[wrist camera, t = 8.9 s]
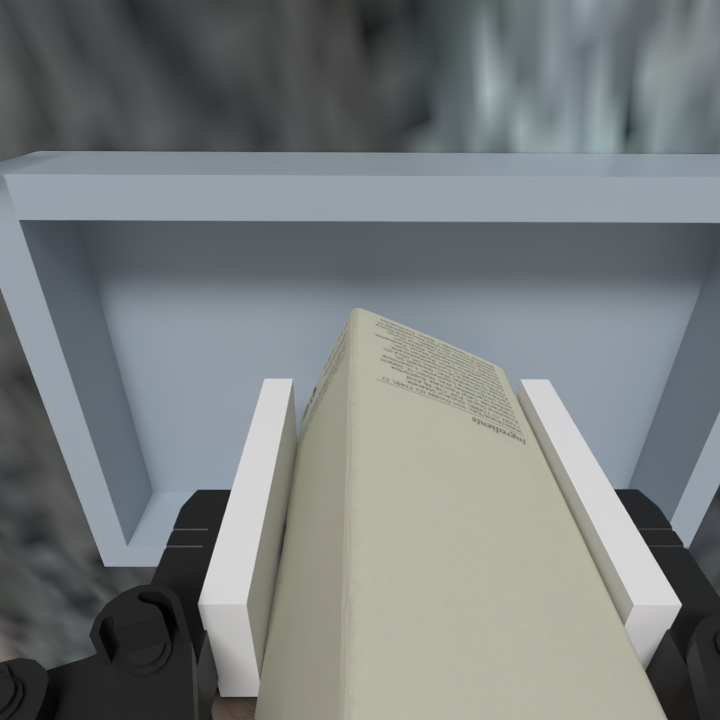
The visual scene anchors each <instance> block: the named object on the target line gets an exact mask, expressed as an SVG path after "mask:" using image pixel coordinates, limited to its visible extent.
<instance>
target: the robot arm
mask: <svg viewBox="0 0 720 720" xmlns="http://www.w3.org/2000/svg"><path fill="white" fill-rule="evenodd" d="M517 399H518V401H519V403H520V406H521V408H522V410H523V412H524V414H525V416H526V418H527V420H528V423H529V425H530V427H531V429H532V431H533V433H534V435H535V437H536V440H537V442H538V444H539V446H540V448H541V450H542V453H543V455H544V457H545V459H546V461H547V463H548V465H549V467H550V470H551V472H552V474H553V476H554V478H555V480H556V482H557V484H558V487H559V489H560V491H561V493H562V495H563V497H564V499H565V501H566V503H567V506H568V508H569V510H570V512H571V514H572V516H573V518H574V520H575V522H576V525H577V527H578V529H579V531H580V533H581V535H582V537H583V539H584V542H585V544H586V546H587V548H588V550H589V552H590V555H591V557H592V559H593V561H594V563H595V566H596V568H597V570H598V572H599V574H600V576H601V578H602V580H603V582H604V585H605V587H606V589H607V591H608V593H609V595H610V597H611V599H612V601H613V604H614V606H615V608H616V610H617V612H618V614H619V616H620V619H621V621H622V623H623V625H624V627H625V629H626V632H627V634H628V636H629V638H630V640H631V642H632V644H633V646H634V649H635V651H636V653H637V655H638V657H639V659H640V661H641V664H642V666H643V668H644V670H645V672H646V674H647V676H648V679H649V681H650V683H651V685H652V687H653V689H654V691H655V694H656V696H657V698H658V700H659V702H660V704H661V707H662V709H663V711H664V713H665V715H666V717H667V719H668V720H720V597H719V596H718V594H717V593H716V591H715V590H714V588H713V587H712V585H711V584H710V582H709V581H708V579H707V578H706V576H705V575H704V573H703V572H702V571H701V569H700V568H699V566H698V565H697V563H696V562H695V560H694V559H693V557H692V556H691V554H690V553H689V551H688V550H687V548H684V544H683V542H682V541H681V539H680V538H679V536H678V535H677V533H676V532H675V531H673V530H672V526H671V524H670V523H669V521H668V520H667V518H666V517H665V515H664V514H663V512H662V511H661V509H660V508H659V507H658V506H657V505H656V504H655V503H654V502H652V501H651V500H650V499H649V498H648V497H646V496H645V495H644V494H643V493H642V492H640V491H639V490H638V489H613V488H612V486H611V484H610V482H609V481H608V479H607V477H606V476H605V474H604V472H603V471H602V469H601V467H600V466H599V464H598V462H597V461H596V459H595V457H594V455H593V454H592V452H591V450H590V449H589V447H588V445H587V444H586V442H585V440H584V439H583V437H582V435H581V434H580V432H579V430H578V428H577V427H576V425H575V423H574V422H573V420H572V418H571V417H570V415H569V413H568V412H567V410H566V408H565V407H564V405H563V403H562V402H561V400H560V398H559V396H558V395H557V393H556V391H555V390H554V388H553V386H552V385H551V383H550V381H549V380H548V379H520V383H519V388H518V393H517ZM297 445H298V441H297V427H296V414H295V400H294V386H293V379H264V382H263V386H262V389H261V392H260V396H259V399H258V403H257V406H256V409H255V413H254V416H253V419H252V423H251V426H250V430H249V433H248V436H247V440H246V443H245V446H244V450H243V453H242V457H241V460H240V463H239V467H238V470H237V473H236V477H235V480H234V484H233V487H232V490H197V491H196V492H195V493H194V494H193V495H192V496H191V497H190V498H189V499H188V500H187V501H186V503H185V504H184V505H183V506H182V507H181V509H180V512H179V514H178V517H177V519H176V522H175V524H174V527H173V532H171V534H170V537H169V539H168V542H167V544H166V545H167V546H166V549H164V552H163V554H162V557H161V559H160V562H159V564H158V567H157V569H156V572H155V574H154V577H153V579H152V582H151V585H140V586H137V587H135V588H132V589H130V590H127V591H125V592H122V593H121V594H120V595H118V596H117V597H116V598H114V599H113V600H112V601H110V602H109V603H108V604H106V606H105V607H104V608H103V610H102V611H101V612H100V613H99V615H98V616H97V617H96V619H95V621H94V624H93V626H92V629H91V632H90V635H89V636H90V638H91V640H92V642H93V645H94V647H95V649H96V651H97V654H95V655H93V656H90V657H88V658H85V659H82V660H79V661H75V662H72V663H69V664H66V665H63V666H60V667H56V668H53V669H50V670H47V671H46V670H45V668H44V667H43V666H41V665H40V664H39V663H38V662H37V661H35V660H31V659H24V658H17V659H13V660H9V661H4V662H1V663H0V720H213V717H212V714H211V709H212V705H213V700H214V696H215V691H216V687H217V683H218V687H219V691H220V695H221V697H258V691H259V685H260V678H261V672H262V666H263V659H264V653H265V647H266V640H267V634H268V627H269V621H270V614H271V608H272V601H273V595H274V589H275V583H276V577H277V572H278V567H279V562H280V555H281V545H282V540H283V535H284V528H285V522H286V516H287V509H288V501H289V495H290V489H291V482H292V475H293V469H294V463H295V457H296V451H297Z"/></svg>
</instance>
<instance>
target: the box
mask: <svg viewBox="0 0 720 720" xmlns="http://www.w3.org/2000/svg"><path fill="white" fill-rule="evenodd" d="M254 720H668V719H667V717H666V715H665V713H664V711H663V709H662V707H661V704H660V702H659V700H658V698H657V696H656V694H655V691H654V689H653V687H652V685H651V683H650V681H649V679H648V676H647V674H646V672H645V670H644V668H643V666H642V664H641V661H640V659H639V657H638V655H637V653H636V651H635V649H634V646H633V644H632V642H631V640H630V638H629V636H628V634H627V632H626V629H625V627H624V625H623V623H622V621H621V619H620V616H619V614H618V612H617V610H616V608H615V606H614V604H613V601H612V599H611V597H610V595H609V593H608V591H607V589H606V587H605V585H604V582H603V580H602V578H601V576H600V574H599V572H598V570H597V568H596V566H595V563H594V561H593V559H592V557H591V555H590V552H589V550H588V548H587V546H586V544H585V542H584V539H583V537H582V535H581V533H580V531H579V529H578V527H577V525H576V522H575V520H574V518H573V516H572V514H571V512H570V510H569V508H568V506H567V503H566V501H565V499H564V497H563V495H562V493H561V491H560V489H559V487H558V484H557V482H556V480H555V478H554V476H553V474H552V472H551V470H550V467H549V465H548V463H547V461H546V459H545V457H544V455H543V453H542V450H541V448H540V446H539V444H538V442H537V440H536V437H535V435H534V433H533V431H532V429H531V427H530V425H529V423H528V420H527V418H526V416H525V414H524V412H523V410H522V408H521V406H520V403H519V401H518V399H517V397H516V395H515V392H514V390H513V388H512V386H511V384H510V382H509V380H508V377H507V375H506V373H505V372H504V370H503V369H502V368H500V367H499V366H497V365H495V364H493V363H490V362H488V361H486V360H484V359H482V358H480V357H477V356H475V355H473V354H471V353H469V352H466V351H464V350H461V349H459V348H457V347H455V346H452V345H450V344H448V343H446V342H443V341H441V340H439V339H436V338H434V337H431V336H429V335H427V334H424V333H422V332H419V331H417V330H414V329H412V328H410V327H407V326H405V325H402V324H400V323H398V322H395V321H393V320H390V319H387V318H385V317H382V316H380V315H377V314H375V313H372V312H370V311H367V310H364V309H362V308H355V309H353V310H352V312H351V313H350V315H349V317H348V319H347V321H346V323H345V325H344V327H343V329H342V331H341V333H340V335H339V337H338V339H337V341H336V343H335V345H334V347H333V349H332V351H331V353H330V355H329V357H328V359H327V361H326V363H325V365H324V368H323V370H322V372H321V374H320V376H319V378H318V380H317V382H316V385H315V387H314V389H313V391H312V393H311V395H310V398H309V400H308V403H307V405H306V407H305V409H304V412H303V415H302V418H301V424H300V432H299V438H298V445H297V451H296V457H295V463H294V469H293V475H292V482H291V489H290V495H289V501H288V509H287V516H286V522H285V528H284V535H283V540H282V545H281V555H280V562H279V567H278V572H277V577H276V583H275V589H274V595H273V601H272V608H271V614H270V621H269V627H268V634H267V640H266V647H265V653H264V659H263V666H262V672H261V678H260V685H259V691H258V698H257V704H256V710H255V717H254Z"/></svg>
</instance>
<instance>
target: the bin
mask: <svg viewBox="0 0 720 720" xmlns="http://www.w3.org/2000/svg"><path fill="white" fill-rule="evenodd" d="M0 288H1V291H2V294H3V296H4V299H5V302H6V304H7V307H8V310H9V312H10V315H11V318H12V320H13V323H14V326H15V328H16V331H17V334H18V336H19V339H20V342H21V344H22V347H23V350H24V352H25V355H26V358H27V360H28V363H29V366H30V368H31V371H32V374H33V376H34V379H35V382H36V384H37V387H38V390H39V392H40V395H41V398H42V400H43V403H44V406H45V408H46V411H47V414H48V416H49V419H50V422H51V424H52V427H53V430H54V432H55V435H56V438H57V440H58V443H59V446H60V448H61V451H62V454H63V456H64V459H65V462H66V464H67V467H68V470H69V472H70V475H71V478H72V480H73V483H74V486H75V488H76V491H77V494H78V496H79V499H80V502H81V504H82V507H83V510H84V512H85V515H86V518H87V520H88V523H89V526H90V528H91V531H92V534H93V536H94V539H95V542H96V544H97V547H98V550H99V552H100V555H101V558H102V560H103V563H104V566H158V564H159V562H160V559H161V557H162V554H163V552H164V549H166V546H167V545H166V544H167V542H168V539H169V537H170V534H171V532H173V527H174V524H175V522H176V519H177V517H178V514H179V512H180V509H181V507H182V506H183V505H184V504H185V503H186V501H187V500H188V499H189V498H190V497H191V496H192V495H193V494H194V493H195V492H196V491H197V490H232V487H233V484H234V480H235V477H236V473H237V470H238V467H239V463H240V460H241V457H242V453H243V450H244V446H245V443H246V440H247V436H248V433H249V430H250V426H251V423H252V419H253V416H254V413H255V409H256V406H257V403H258V399H259V396H260V392H261V389H262V386H263V382H264V379H293V386H294V400H295V414H296V427H297V441H298V438H299V432H300V424H301V418H302V415H303V412H304V409H305V407H306V405H307V403H308V400H309V398H310V395H311V393H312V391H313V389H314V387H315V385H316V382H317V380H318V378H319V376H320V374H321V372H322V370H323V368H324V365H325V363H326V361H327V359H328V357H329V355H330V353H331V351H332V349H333V347H334V345H335V343H336V341H337V339H338V337H339V335H340V333H341V331H342V329H343V327H344V325H345V323H346V321H347V319H348V317H349V315H350V313H351V312H352V310H353V309H355V308H362V309H364V310H367V311H370V312H372V313H375V314H377V315H380V316H382V317H385V318H387V319H390V320H393V321H395V322H398V323H400V324H402V325H405V326H407V327H410V328H412V329H414V330H417V331H419V332H422V333H424V334H427V335H429V336H431V337H434V338H436V339H439V340H441V341H443V342H446V343H448V344H450V345H452V346H455V347H457V348H459V349H461V350H464V351H466V352H469V353H471V354H473V355H475V356H477V357H480V358H482V359H484V360H486V361H488V362H490V363H493V364H495V365H497V366H499V367H500V368H502V369H503V370H504V372H505V373H506V375H507V377H508V380H509V382H510V384H511V386H512V388H513V390H514V392H515V395H516V397H517V393H518V388H519V383H520V379H548V380H549V381H550V383H551V385H552V386H553V388H554V390H555V391H556V393H557V395H558V396H559V398H560V400H561V402H562V403H563V405H564V407H565V408H566V410H567V412H568V413H569V415H570V417H571V418H572V420H573V422H574V423H575V425H576V427H577V428H578V430H579V432H580V434H581V435H582V437H583V439H584V440H585V442H586V444H587V445H588V447H589V449H590V450H591V452H592V454H593V455H594V457H595V459H596V461H597V462H598V464H599V466H600V467H601V469H602V471H603V472H604V474H605V476H606V477H607V479H608V481H609V482H610V484H611V486H612V488H613V489H638V490H639V491H640V492H642V493H643V494H644V495H645V496H646V497H648V498H649V499H650V500H651V501H652V502H654V503H655V504H656V505H657V506H658V507H659V508H660V509H661V511H662V512H663V514H664V515H665V517H666V518H667V520H668V521H669V523H670V524H671V526H672V530H673V531H675V532H676V533H677V535H678V536H679V538H680V539H681V541H682V542H683V544H684V548H687V550H688V548H689V546H690V544H691V542H692V540H693V538H694V536H695V533H696V531H697V529H698V527H699V525H700V523H701V521H702V519H703V517H704V515H705V513H706V511H707V509H708V507H709V505H710V503H711V501H712V499H713V496H714V494H715V492H716V490H717V488H718V486H719V484H720V154H546V153H338V152H129V151H38V152H34V153H30V154H27V155H23V156H20V157H16V158H13V159H9V160H5V161H2V162H0Z"/></svg>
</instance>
